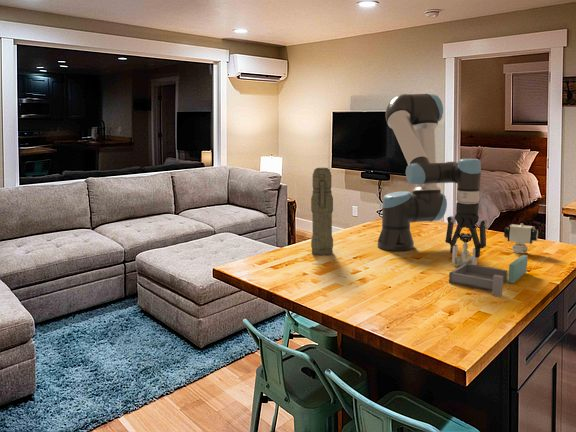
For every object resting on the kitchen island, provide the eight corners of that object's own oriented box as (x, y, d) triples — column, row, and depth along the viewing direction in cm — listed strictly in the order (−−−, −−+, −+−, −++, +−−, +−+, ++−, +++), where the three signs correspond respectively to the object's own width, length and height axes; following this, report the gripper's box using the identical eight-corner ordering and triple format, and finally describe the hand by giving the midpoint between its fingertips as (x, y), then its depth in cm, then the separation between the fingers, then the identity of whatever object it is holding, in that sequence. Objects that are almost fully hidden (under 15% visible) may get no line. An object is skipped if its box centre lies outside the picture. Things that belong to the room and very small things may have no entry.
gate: (508, 282, 160) (509, 264, 159) (521, 271, 171) (522, 254, 170) (513, 283, 159) (514, 265, 158) (526, 272, 170) (527, 255, 169)
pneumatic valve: (534, 255, 191) (537, 226, 189) (502, 251, 198) (504, 223, 196) (536, 252, 196) (539, 223, 193) (505, 248, 202) (507, 220, 200)
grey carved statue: (313, 257, 195) (312, 169, 188) (309, 249, 206) (309, 167, 200) (335, 256, 195) (335, 169, 189) (330, 248, 207) (330, 166, 200)
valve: (451, 264, 182) (453, 233, 179) (468, 263, 182) (470, 232, 180) (459, 269, 175) (461, 237, 173) (477, 268, 176) (479, 236, 173)
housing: (445, 285, 159) (446, 267, 158) (465, 272, 171) (465, 256, 170) (499, 296, 148) (501, 277, 147) (516, 282, 160) (518, 264, 159)
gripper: (437, 201, 178) (434, 261, 182) (492, 206, 165) (488, 271, 169) (445, 198, 183) (442, 257, 188) (499, 203, 171) (495, 266, 175)
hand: (464, 263), depth 178 cm, fingers closed on valve, 7 cm apart
